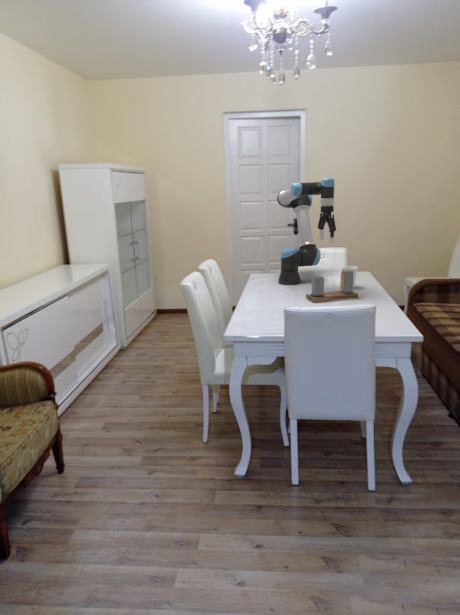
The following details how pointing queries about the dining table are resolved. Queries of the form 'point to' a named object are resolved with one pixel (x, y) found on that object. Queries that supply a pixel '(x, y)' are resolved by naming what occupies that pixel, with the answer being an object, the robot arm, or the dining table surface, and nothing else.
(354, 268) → the foam cup
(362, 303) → the dining table surface
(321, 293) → the gray and orange block
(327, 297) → the rail
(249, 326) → the dining table surface
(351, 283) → the mounted finger
